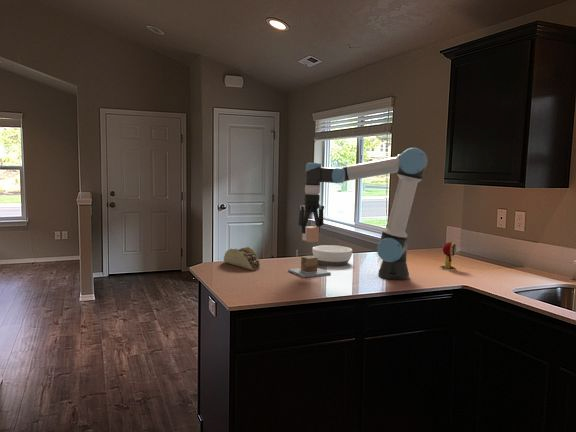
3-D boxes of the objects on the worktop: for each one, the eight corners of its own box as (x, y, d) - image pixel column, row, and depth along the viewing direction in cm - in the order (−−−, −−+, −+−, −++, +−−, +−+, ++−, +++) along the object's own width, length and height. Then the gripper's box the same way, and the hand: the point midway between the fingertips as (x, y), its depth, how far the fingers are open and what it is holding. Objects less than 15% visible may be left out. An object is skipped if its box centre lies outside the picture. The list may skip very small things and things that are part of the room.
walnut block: (317, 271, 252) (317, 257, 251) (307, 272, 249) (307, 258, 248) (310, 269, 257) (311, 255, 256) (300, 269, 254) (301, 256, 253)
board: (330, 275, 250) (330, 272, 250) (303, 277, 242) (303, 275, 242) (314, 269, 263) (314, 266, 263) (288, 271, 255) (288, 269, 255)
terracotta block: (318, 241, 250) (319, 227, 249) (308, 242, 247) (309, 228, 246) (311, 239, 255) (312, 226, 254) (301, 240, 252) (302, 226, 251)
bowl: (306, 264, 274) (306, 249, 273) (318, 257, 295) (319, 244, 294) (346, 269, 266) (347, 253, 265) (355, 261, 287) (356, 247, 286)
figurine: (455, 271, 269) (457, 244, 267) (436, 269, 274) (438, 242, 272) (458, 268, 276) (460, 242, 274) (440, 266, 281) (442, 240, 279)
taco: (249, 272, 251) (250, 252, 250) (218, 263, 271) (219, 245, 270) (264, 270, 258) (264, 250, 257) (233, 261, 278) (233, 243, 276)
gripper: (323, 193, 256) (322, 237, 259) (292, 193, 247) (290, 239, 249) (332, 194, 250) (330, 239, 252) (299, 194, 240) (298, 241, 243)
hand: (310, 239), depth 251 cm, fingers closed on terracotta block, 6 cm apart
